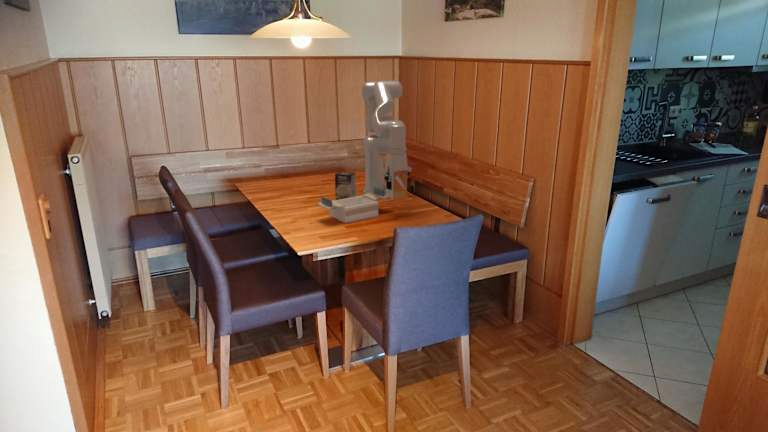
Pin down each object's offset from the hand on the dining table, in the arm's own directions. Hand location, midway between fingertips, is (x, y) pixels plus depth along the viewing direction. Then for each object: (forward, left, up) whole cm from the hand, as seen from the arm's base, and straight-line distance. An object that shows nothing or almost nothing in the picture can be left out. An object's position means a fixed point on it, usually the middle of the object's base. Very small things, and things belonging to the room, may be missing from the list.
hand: (396, 187), depth 239 cm
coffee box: (+9, -30, -13) cm, 34 cm away
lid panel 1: (+30, -10, -6) cm, 32 cm away
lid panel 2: (+5, -10, -6) cm, 13 cm away
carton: (+17, -10, -13) cm, 24 cm away
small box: (0, 0, -4) cm, 4 cm away
